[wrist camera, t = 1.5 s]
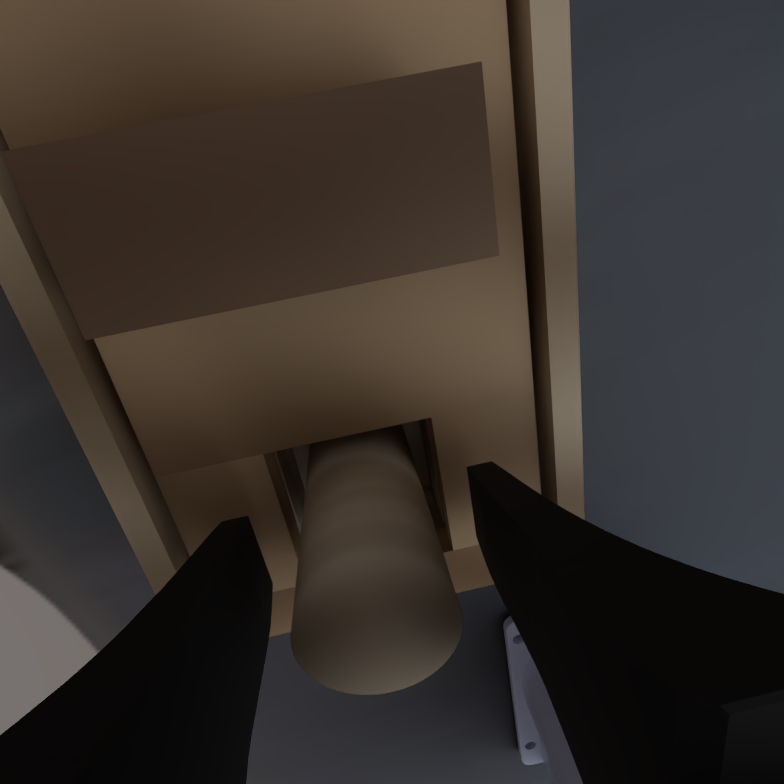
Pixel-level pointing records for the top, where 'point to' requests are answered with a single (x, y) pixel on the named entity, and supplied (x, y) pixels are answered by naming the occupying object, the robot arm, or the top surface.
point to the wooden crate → (552, 409)
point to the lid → (283, 237)
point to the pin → (370, 570)
